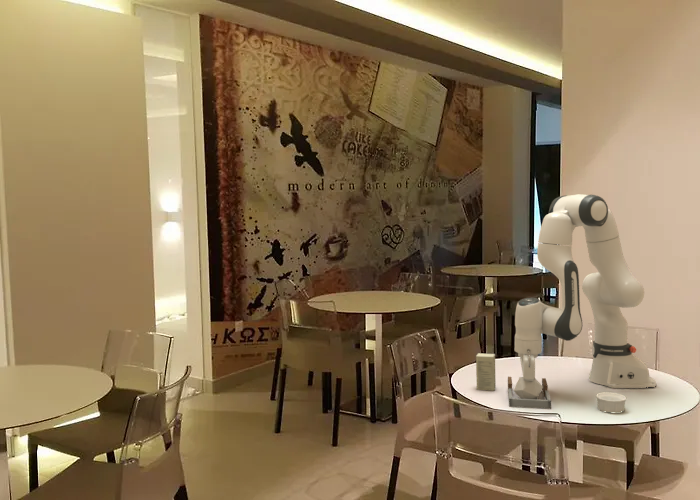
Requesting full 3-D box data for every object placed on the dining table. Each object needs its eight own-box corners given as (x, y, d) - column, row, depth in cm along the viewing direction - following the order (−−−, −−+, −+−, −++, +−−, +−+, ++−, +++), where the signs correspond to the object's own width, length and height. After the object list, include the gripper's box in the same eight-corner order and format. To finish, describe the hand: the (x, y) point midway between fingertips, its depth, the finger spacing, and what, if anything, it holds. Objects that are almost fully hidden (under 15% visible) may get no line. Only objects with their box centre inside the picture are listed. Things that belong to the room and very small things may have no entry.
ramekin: (594, 412, 210) (595, 398, 210) (596, 403, 218) (597, 390, 218) (625, 415, 206) (625, 402, 206) (626, 407, 215) (626, 394, 214)
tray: (547, 397, 224) (548, 390, 224) (551, 408, 213) (551, 401, 213) (508, 395, 227) (508, 388, 227) (509, 406, 216) (509, 398, 216)
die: (542, 407, 217) (550, 380, 220) (520, 396, 215) (529, 369, 219) (527, 408, 224) (535, 381, 228) (506, 397, 223) (514, 370, 226)
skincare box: (495, 387, 236) (496, 353, 235) (494, 391, 232) (494, 356, 230) (477, 386, 238) (477, 352, 237) (475, 389, 234) (475, 355, 233)
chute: (545, 389, 233) (545, 378, 233) (547, 397, 225) (547, 385, 224) (507, 387, 236) (507, 376, 235) (508, 395, 227) (508, 383, 227)
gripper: (539, 354, 214) (539, 396, 216) (535, 339, 234) (535, 378, 236) (519, 353, 216) (519, 395, 217) (517, 339, 236) (516, 377, 237)
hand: (527, 386), depth 226 cm, fingers closed
